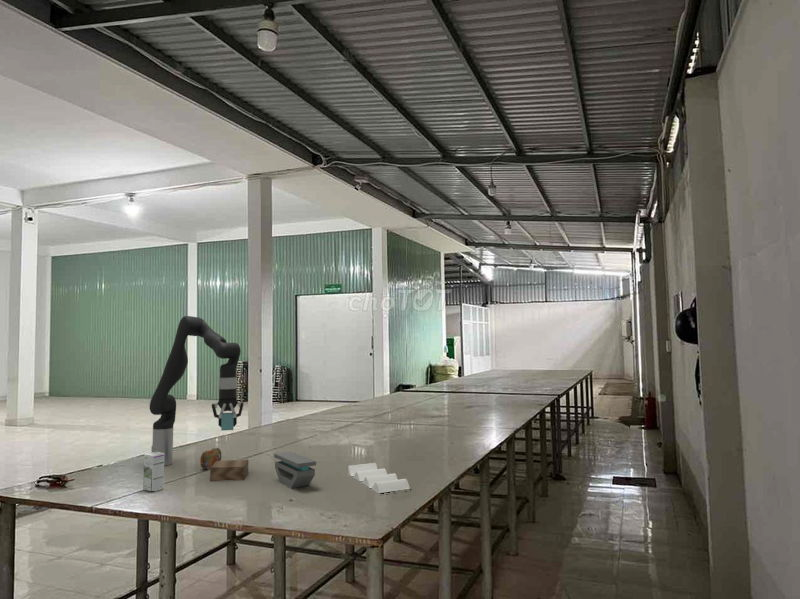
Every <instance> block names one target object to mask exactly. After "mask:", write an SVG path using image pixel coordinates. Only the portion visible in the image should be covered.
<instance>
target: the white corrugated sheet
mask: <svg viewBox="0 0 800 599" xmlns="http://www.w3.org/2000/svg"><path fill="white" fill-rule="evenodd" d="M347 468H348V470H347V474H348V475H350V476H354V477H353V478H355V479H357V480H358V481H363V482H362V483H363V484H365V485H366V486H368V487H369V488H372V490H374V491H376V492H377V493H379V494H384V493H390V492H395V491H400V490H405V489H410V490H411V488H410V485H409V482H408V480H407V478H402V479H399V478H398V476H397V474H396V473H395V472H394V473H387V470H386V468H385V467H384V468H378V466H377V462H369V463H361V464H350V465H348V466H347ZM366 486H365V487H366ZM369 488H368V489H369ZM372 490H371V491H372ZM374 491H373V492H374ZM376 492H375V493H376ZM377 493H376V494H377ZM379 494H378V495H379Z"/></svg>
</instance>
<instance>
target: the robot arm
mask: <svg viewBox="0 0 800 599" xmlns="http://www.w3.org/2000/svg"><path fill="white" fill-rule="evenodd" d="M188 337H200V338H203V341H204V344H205V345H206V346H207V347H209V348H210V349H211V350H213V352H214V354H215V356H216V357H218V358H219V359H224V360H225V359H228V360H227V362H226V363H223V364H221V365H220V366H219V383H218V401H217V402H216V403H215V402H214V403H212V404H211V408H212V413H213V416H214V418H216V419H217V420H218V424H217V425H218V427H220V428H221V415H222V414H223V413H225V412H231V413H234V418H233V427H236V426H237V423H238V422H237V421H238V417H241V415H242V412H243V408H244V402H243V401H242V402H240V401H238V400H237V397H238V395H237V394H238V391H237V388H238V382H237V381H238V379H237V368H238V364H239V360H240V356H241V352H242V351H241V346H240V345H239V344H238V343H237V342H228V341H227V340H226V339H225V337H223V336H222V335H220V334H219V333H217V332H216V331H214V330H213V329H212V327H211V326H210V325H209V324H208V323H207V322H206V321H205V320H204V319H203V318H201V317H199V316H190V315H184V316H183V317H181V319H180V320H179V323H178V326H177V330H176V333H175V338H174V342H173V345H172V348H171V350H170V353H169V355H168V358H167V361H166V363H165V365H164V369H163V371H162V372H163V373H162V375H161V377H160V380H159V382H158V384H157V386H156V388H155V390H154V393H153V394H152V397H151V400H150V402H149V411H150V413H151V414H153V416H160V417H159V418H158V419H157V420H156V421H154V422H153V424H152V441H151V442H152V444H151V452H160V453H164V467H166V466H169V465H172V464H173V459H174V458H173V457H174V456H173V455H174V454H173V453H174V424H175V422H176V414H177V412H176V411H177V401H176V398H175V396H174V395H172V394H169V393H170V391H171V390H172V388H174V386H175V385H176V384H177V383H178V382H179V381H180V380H181V379H182V377H183V376H184V375H185V372H186V370H187V367H188V363H189V359H188V355H187V350H186V341H187V339H188ZM237 406H238V408H239V409H238V413H237V412H236V410H235V409H236V407H237ZM218 407H219V408H220V413H219V414H218V412H217V408H218Z"/></svg>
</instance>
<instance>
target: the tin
mask: <svg viewBox="0 0 800 599" xmlns="http://www.w3.org/2000/svg"><path fill="white" fill-rule="evenodd" d="M216 461H222V452H221V450H220V448H219V447H215V448H211V449H208V450H205V451H203V452H202V454H201V455H200V467H201V469H202V470H210V468H211V466H212V465H213V464H214V463H215V462H216Z"/></svg>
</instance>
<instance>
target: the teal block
mask: <svg viewBox="0 0 800 599" xmlns="http://www.w3.org/2000/svg"><path fill="white" fill-rule="evenodd" d="M233 418H234V413H232V412H223V414H222V415H221V427H220V428H221V429H220V430H221V432H222V431H234V427H233Z"/></svg>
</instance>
